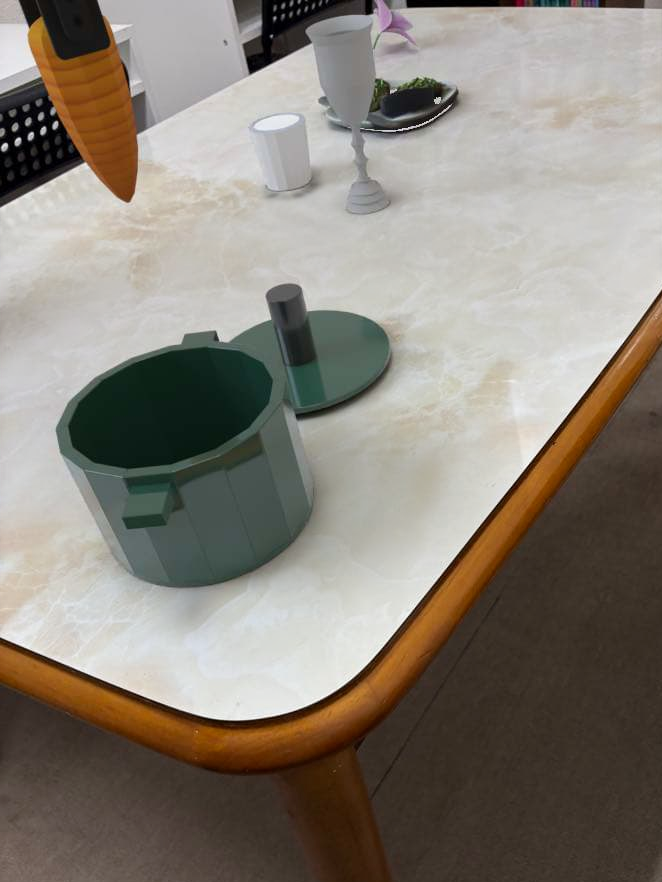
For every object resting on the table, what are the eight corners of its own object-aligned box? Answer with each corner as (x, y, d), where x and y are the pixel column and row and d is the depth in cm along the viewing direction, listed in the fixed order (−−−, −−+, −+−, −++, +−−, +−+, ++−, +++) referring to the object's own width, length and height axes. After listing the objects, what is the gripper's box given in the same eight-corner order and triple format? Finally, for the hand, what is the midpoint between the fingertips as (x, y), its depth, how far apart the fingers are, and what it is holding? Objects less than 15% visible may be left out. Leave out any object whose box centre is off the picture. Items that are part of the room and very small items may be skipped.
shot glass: (276, 170, 109) (263, 111, 104) (325, 170, 106) (314, 110, 102) (252, 192, 104) (237, 132, 99) (302, 193, 102) (290, 132, 97)
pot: (77, 628, 54) (11, 518, 48) (143, 438, 69) (100, 334, 62) (302, 607, 53) (266, 492, 47) (321, 418, 68) (296, 311, 61)
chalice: (351, 190, 101) (322, 16, 88) (405, 191, 99) (383, 12, 86) (328, 217, 96) (294, 38, 83) (385, 218, 94) (358, 34, 81)
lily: (413, 69, 136) (431, 1, 132) (341, 45, 134) (358, -25, 130) (413, 74, 147) (430, 11, 143) (347, 51, 145) (362, -13, 141)
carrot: (157, 181, 61) (75, -75, 50) (170, 204, 57) (84, -66, 47) (88, 199, 60) (-10, -58, 49) (96, 224, 56) (-8, -47, 46)
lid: (199, 431, 69) (171, 354, 64) (226, 331, 80) (204, 260, 75) (391, 410, 67) (378, 330, 63) (391, 311, 79) (380, 237, 74)
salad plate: (289, 132, 118) (281, 97, 115) (357, 89, 129) (352, 55, 126) (409, 141, 110) (405, 103, 107) (472, 94, 120) (469, 58, 117)
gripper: (-180, -358, 44) (-16, 39, 56) (-153, -426, 32) (45, 90, 45) (-33, -375, 46) (93, 11, 59) (40, -443, 35) (177, 53, 47)
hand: (71, 42), depth 52 cm, fingers closed on carrot, 4 cm apart
